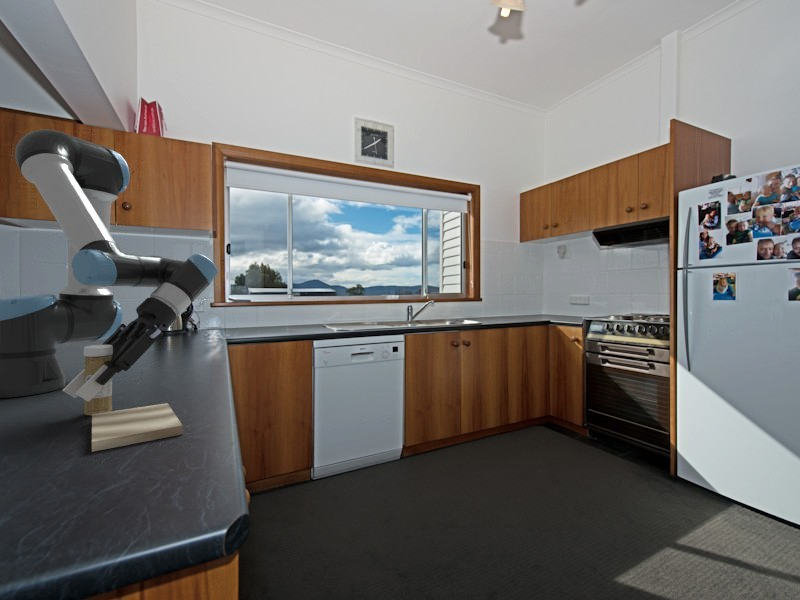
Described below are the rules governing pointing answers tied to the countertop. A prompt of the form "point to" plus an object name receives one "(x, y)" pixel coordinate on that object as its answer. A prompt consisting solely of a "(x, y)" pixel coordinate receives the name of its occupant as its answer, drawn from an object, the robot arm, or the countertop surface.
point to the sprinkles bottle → (93, 363)
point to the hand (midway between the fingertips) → (75, 395)
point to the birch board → (133, 426)
